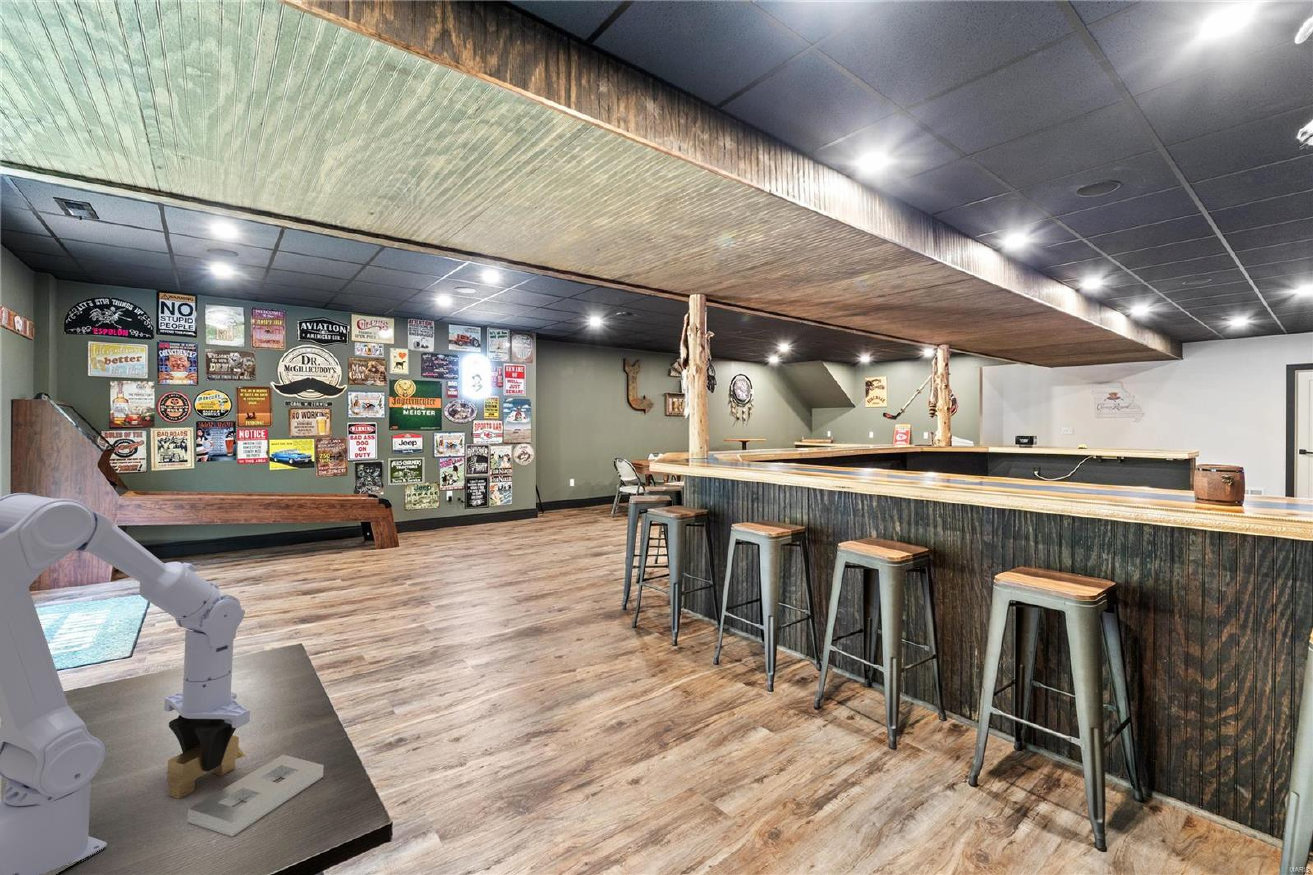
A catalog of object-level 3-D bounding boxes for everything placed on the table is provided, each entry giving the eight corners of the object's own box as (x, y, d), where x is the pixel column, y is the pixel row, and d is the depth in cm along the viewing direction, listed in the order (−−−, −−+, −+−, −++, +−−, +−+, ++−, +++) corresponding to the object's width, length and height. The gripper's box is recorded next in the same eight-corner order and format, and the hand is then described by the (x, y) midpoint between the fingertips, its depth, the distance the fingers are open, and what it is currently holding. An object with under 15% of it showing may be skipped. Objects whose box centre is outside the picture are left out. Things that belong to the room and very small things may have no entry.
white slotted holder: (232, 836, 75) (233, 822, 75) (187, 822, 77) (188, 808, 77) (322, 776, 88) (323, 765, 88) (282, 766, 90) (282, 754, 90)
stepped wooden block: (181, 799, 81) (183, 764, 81) (166, 795, 82) (168, 760, 82) (237, 769, 89) (238, 736, 89) (222, 765, 90) (224, 733, 90)
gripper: (270, 671, 87) (266, 761, 87) (200, 657, 91) (196, 742, 91) (224, 690, 81) (219, 787, 81) (150, 674, 85) (146, 766, 85)
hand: (204, 765), depth 86 cm, fingers closed on stepped wooden block, 3 cm apart
